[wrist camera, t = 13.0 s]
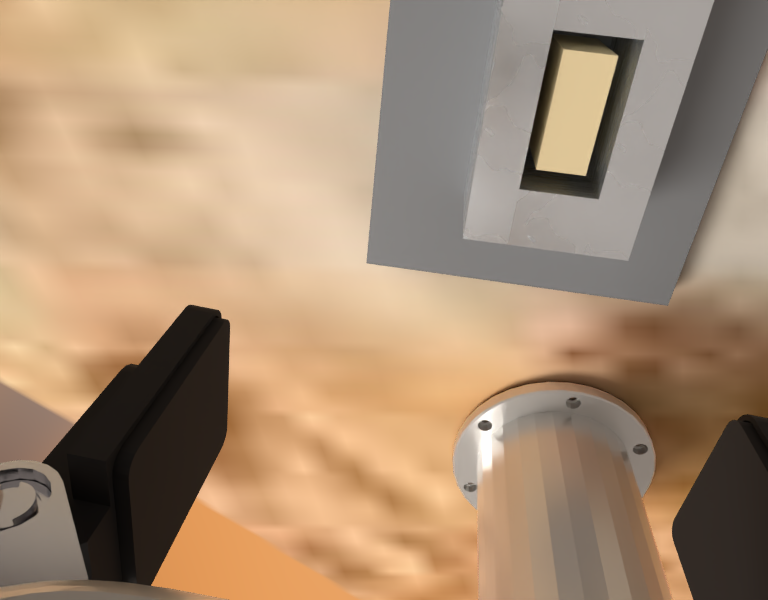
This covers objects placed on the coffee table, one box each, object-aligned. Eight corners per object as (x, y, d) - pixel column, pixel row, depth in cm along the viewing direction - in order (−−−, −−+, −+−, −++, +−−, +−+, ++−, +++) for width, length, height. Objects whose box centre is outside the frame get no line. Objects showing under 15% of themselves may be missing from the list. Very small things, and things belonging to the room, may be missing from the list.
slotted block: (605, 215, 30) (628, 260, 26) (463, 196, 31) (462, 238, 26) (681, -40, 25) (725, -35, 20) (506, -58, 25) (513, -57, 21)
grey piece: (660, 291, 34) (694, 355, 29) (370, 251, 35) (352, 305, 29) (831, -163, 23) (932, -191, 18) (413, -204, 24) (397, -242, 19)
